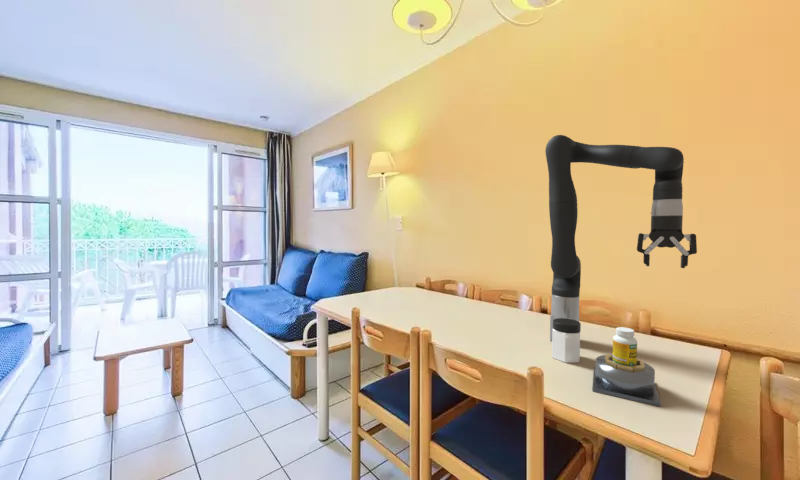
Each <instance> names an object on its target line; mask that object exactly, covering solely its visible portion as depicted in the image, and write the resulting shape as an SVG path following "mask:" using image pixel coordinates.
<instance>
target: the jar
mask: <svg viewBox="0 0 800 480" xmlns="http://www.w3.org/2000/svg"><path fill="white" fill-rule="evenodd" d="M581 325H582V324H581V322H580V321H579V322H578V321H576V320H572V319H566V318H557V319H554V320H553V330H552V341H551V346H552V347H551V358H552V359H554V360H557V361H559V362H561V363H566V364H567V363H575V364H577V363H578V364H579V363H580V361H581V360H580V358H581V330H582V329H581V328H582V327H581Z"/></svg>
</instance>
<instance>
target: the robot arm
mask: <svg viewBox="0 0 800 480" xmlns="http://www.w3.org/2000/svg"><path fill="white" fill-rule="evenodd" d="M545 158H546V164H547V171H548V209H549V211H548V212H549V214H548V215H549V225H550V232H551V240H552V243H551V245H552V246H551V256H550V257H551V259H550V267H551V271H552V273H553V274H552V275H553V277H552V278H553V279H552V284H551V305H550V306H551V309H550V311H551V312H550V319H549V321H550V323H549V326H550V327H549V341H551V342H552V330H553V320H554V319H557V318H566V319H572V320H576V321H578V322H580V291H581V290H580V289H581V272H582V264H581V259H580V257H579V256H578V255H577V251H576V232H577V225H578V213H579V212H578V197H577V192H576V188H575V184H574V181H573V178H572V170H571V168H572V167H571V165H572V164H573V163H574V164H575V163H585V164H586V163H590V164H598V165H603V166H604V165H605V166H611V167H617V168H618V167H619V168H626V169H647V170H654V183H653V188H652V203H651V209H650V211H651V212H650V217H651V218H650V232H649V233H642V232H640V233H638V236H637V246H636V251H637V252H638V253H641V254H643V261H642V262H643V264H644V265H645V266H646V267H650V261H651V260H650V258H651V255H650V253H651V252H653V250H654V249H655V248H656V247H658V248H670V249H671V248H676V249H677V250H678V251H679V252H680V253H681V255H680V269H685V268H686V267H688V265H689V256H690V255H695V254H697V252H698V248H697V247H698V246H697V235H696V234H695V233H685V234H684V233H683V217H684V216H683V214H684V204H683V182H682V181H683V172H684V164H685V163H684V162H685V161H684V160H685V158H684V155H683V152H682V151H681V150H680V149H678V148H676V147H668V146H638V145H629V144H627V145H626V144H587V143H584V142H579V141H575V140H573V139H572V138H571V137H570V136H569V137H568V136H567V135H564V134H558V135H557V134H556V135H554V136H552V137H551V138H550V139H549V140H548V141H547V143H546V146H545ZM684 238H685V240H686V241H687V242H688V243H689V244H688V245H689V249H688V250H687V249H686V248H685V247H684V246H683V245H682V244H681V242H682V240H683V239H684ZM647 239H649V240H650V241H651V243H650V244H649V245H648V246H647V247H646V248H645V249H644V248H643V246H644V245H643V244H644V241H646V240H647Z"/></svg>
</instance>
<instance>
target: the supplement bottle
mask: <svg viewBox="0 0 800 480" xmlns="http://www.w3.org/2000/svg"><path fill="white" fill-rule="evenodd" d="M615 333H616V334H615V335H613V337H612V354H613V362H615V363H617V364H621V365H626V366H637V359H638V340H637V339H636V338H635V337H634V336H635V330H634V329H633V328H629V327H624V326H620V327H616V328H615Z"/></svg>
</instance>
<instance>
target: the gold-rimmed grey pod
mask: <svg viewBox="0 0 800 480" xmlns="http://www.w3.org/2000/svg"><path fill="white" fill-rule="evenodd" d="M655 373H656V370H655V368H653V366H651V365H650V364H648V363H646V362H644V360H641V359H638V358H637V366H626V365H621V364H617V363H615V362H613V353H609V354H603V355H599V356H597V357H596V358H595V366H593V375H592V390H591V391H592V392H594V393H599V394H602V395H603V394H604V395H607V396H612V397H616V398H620V399H625V400H630V401H634V402H638V403H643V404H647V405H651V406H656V407H661V400H660V397H659V393H658V390H657V388H656V384H655V378H656V377H655Z"/></svg>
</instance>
